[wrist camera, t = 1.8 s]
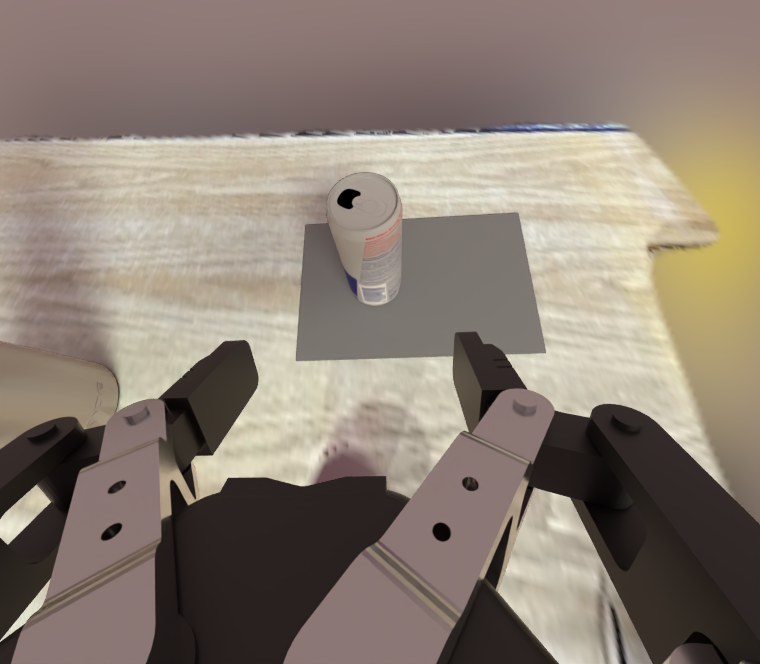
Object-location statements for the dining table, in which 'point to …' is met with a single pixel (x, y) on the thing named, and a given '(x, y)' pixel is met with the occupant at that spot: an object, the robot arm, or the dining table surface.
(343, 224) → the energy drink
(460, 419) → the dining table surface
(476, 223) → the mat
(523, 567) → the dining table surface
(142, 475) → the robot arm
